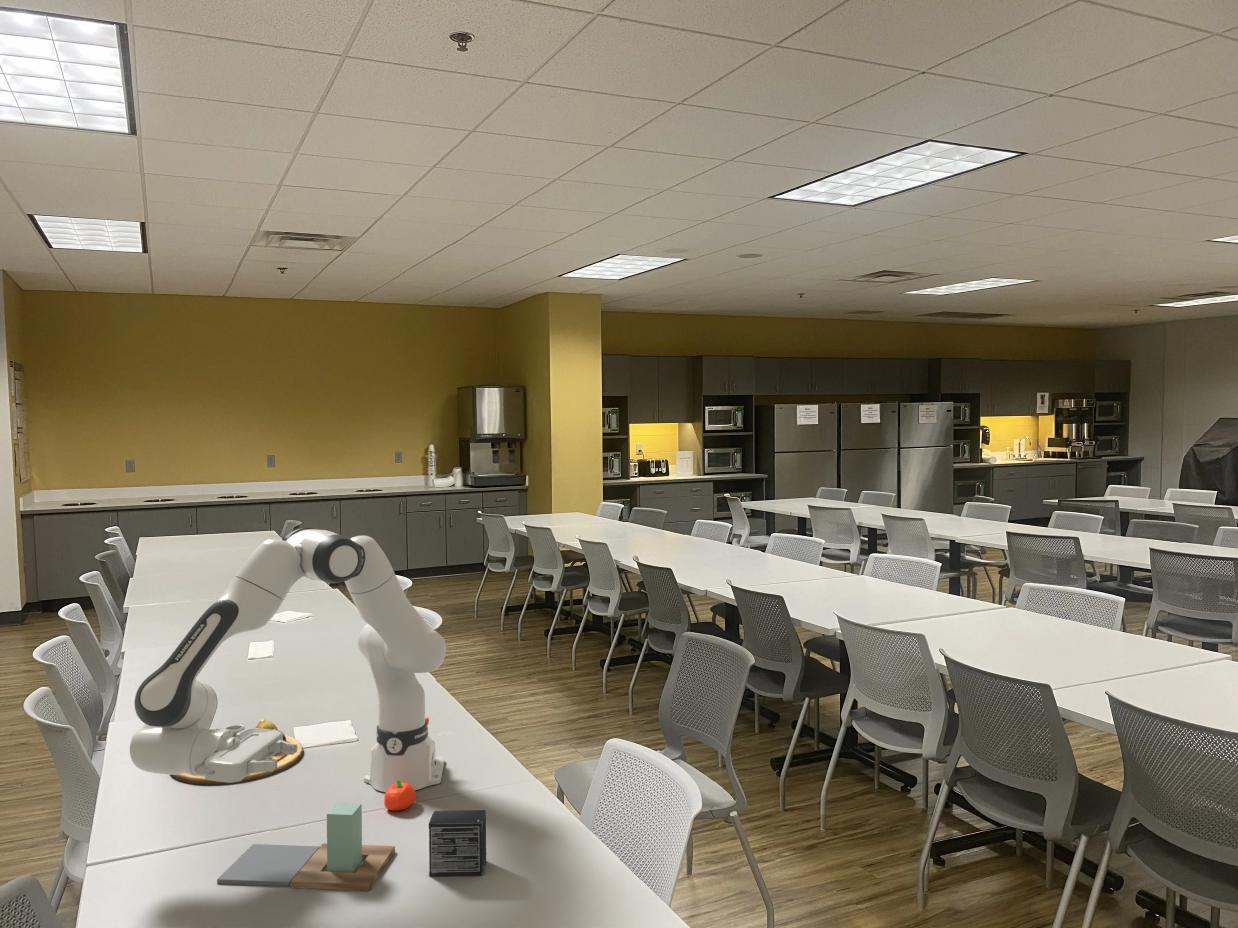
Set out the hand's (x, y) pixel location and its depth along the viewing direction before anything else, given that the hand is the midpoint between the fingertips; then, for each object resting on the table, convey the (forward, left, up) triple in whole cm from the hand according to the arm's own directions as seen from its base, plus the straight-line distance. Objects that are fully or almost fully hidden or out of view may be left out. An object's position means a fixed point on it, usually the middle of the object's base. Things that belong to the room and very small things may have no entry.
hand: (286, 757), depth 169 cm
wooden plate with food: (-53, -37, -23) cm, 69 cm away
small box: (-2, +33, -22) cm, 40 cm away
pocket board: (0, +11, -22) cm, 25 cm away
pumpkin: (-28, +13, -22) cm, 38 cm away
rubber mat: (0, -4, -22) cm, 22 cm away
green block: (0, +11, -22) cm, 25 cm away
